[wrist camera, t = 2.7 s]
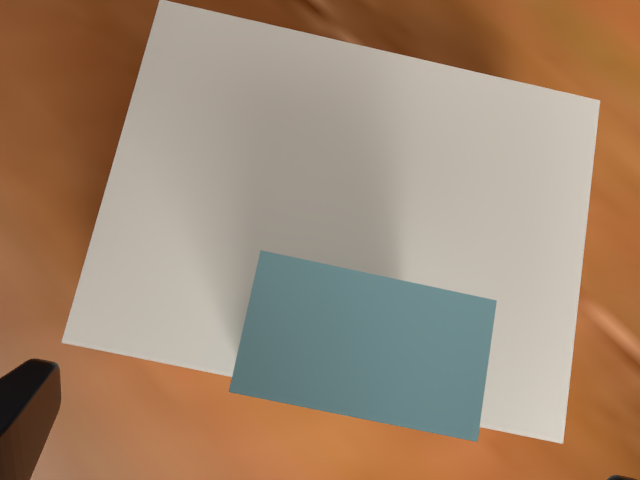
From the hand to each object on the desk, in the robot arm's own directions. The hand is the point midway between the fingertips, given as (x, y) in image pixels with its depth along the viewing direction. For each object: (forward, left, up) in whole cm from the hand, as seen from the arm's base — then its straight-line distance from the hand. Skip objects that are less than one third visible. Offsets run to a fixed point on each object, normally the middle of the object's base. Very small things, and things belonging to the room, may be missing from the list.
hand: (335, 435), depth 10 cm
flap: (+3, +4, -5) cm, 7 cm away
